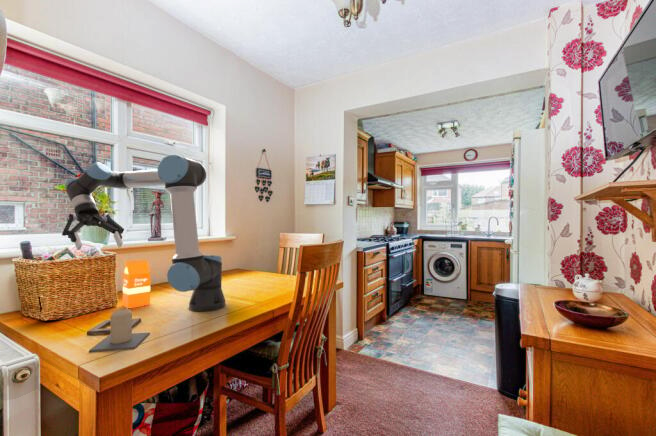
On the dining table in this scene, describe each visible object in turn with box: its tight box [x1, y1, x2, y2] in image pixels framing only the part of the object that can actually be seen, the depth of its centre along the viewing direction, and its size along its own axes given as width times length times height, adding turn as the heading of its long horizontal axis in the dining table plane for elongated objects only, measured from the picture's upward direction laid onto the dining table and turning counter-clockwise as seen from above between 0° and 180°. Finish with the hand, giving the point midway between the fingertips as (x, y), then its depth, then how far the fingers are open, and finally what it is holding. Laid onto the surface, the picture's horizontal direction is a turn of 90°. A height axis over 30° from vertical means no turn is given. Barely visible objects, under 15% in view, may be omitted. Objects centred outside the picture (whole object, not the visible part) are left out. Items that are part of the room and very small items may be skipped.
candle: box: [109, 307, 133, 344], centre depth 95 cm, size 6×6×10 cm
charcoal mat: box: [88, 331, 150, 353], centre depth 95 cm, size 12×12×1 cm
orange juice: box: [122, 259, 151, 309], centre depth 138 cm, size 8×9×20 cm
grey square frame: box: [86, 317, 142, 336], centre depth 108 cm, size 12×12×1 cm
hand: (101, 246), depth 118 cm, fingers open, 13 cm apart
